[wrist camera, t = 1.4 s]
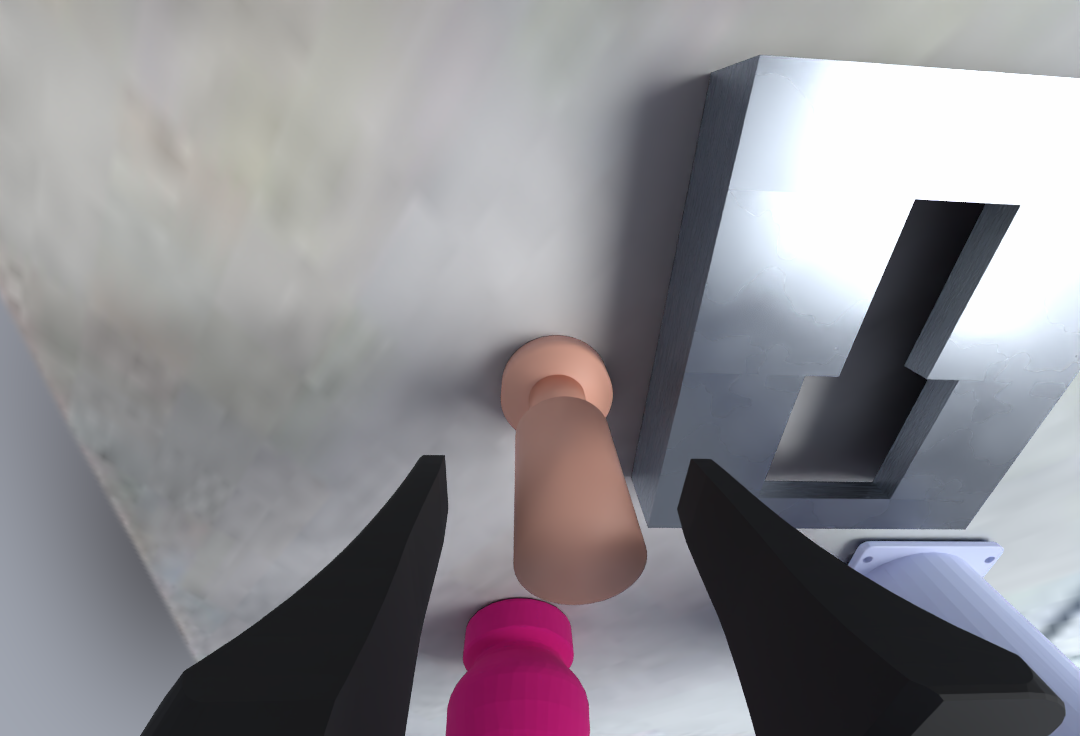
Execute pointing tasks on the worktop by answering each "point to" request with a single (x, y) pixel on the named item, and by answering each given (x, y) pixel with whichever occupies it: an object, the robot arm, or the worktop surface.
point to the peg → (568, 476)
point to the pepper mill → (518, 675)
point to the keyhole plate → (866, 280)
